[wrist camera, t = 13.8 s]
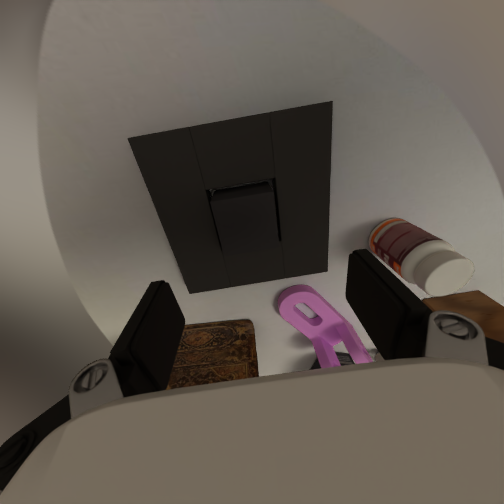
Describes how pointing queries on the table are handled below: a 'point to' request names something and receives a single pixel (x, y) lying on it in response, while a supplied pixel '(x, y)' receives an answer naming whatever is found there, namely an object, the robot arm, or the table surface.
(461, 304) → the wooden block
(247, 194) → the pad
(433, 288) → the pill bottle
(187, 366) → the book
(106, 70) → the table surface
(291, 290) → the bracket
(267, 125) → the base pad
